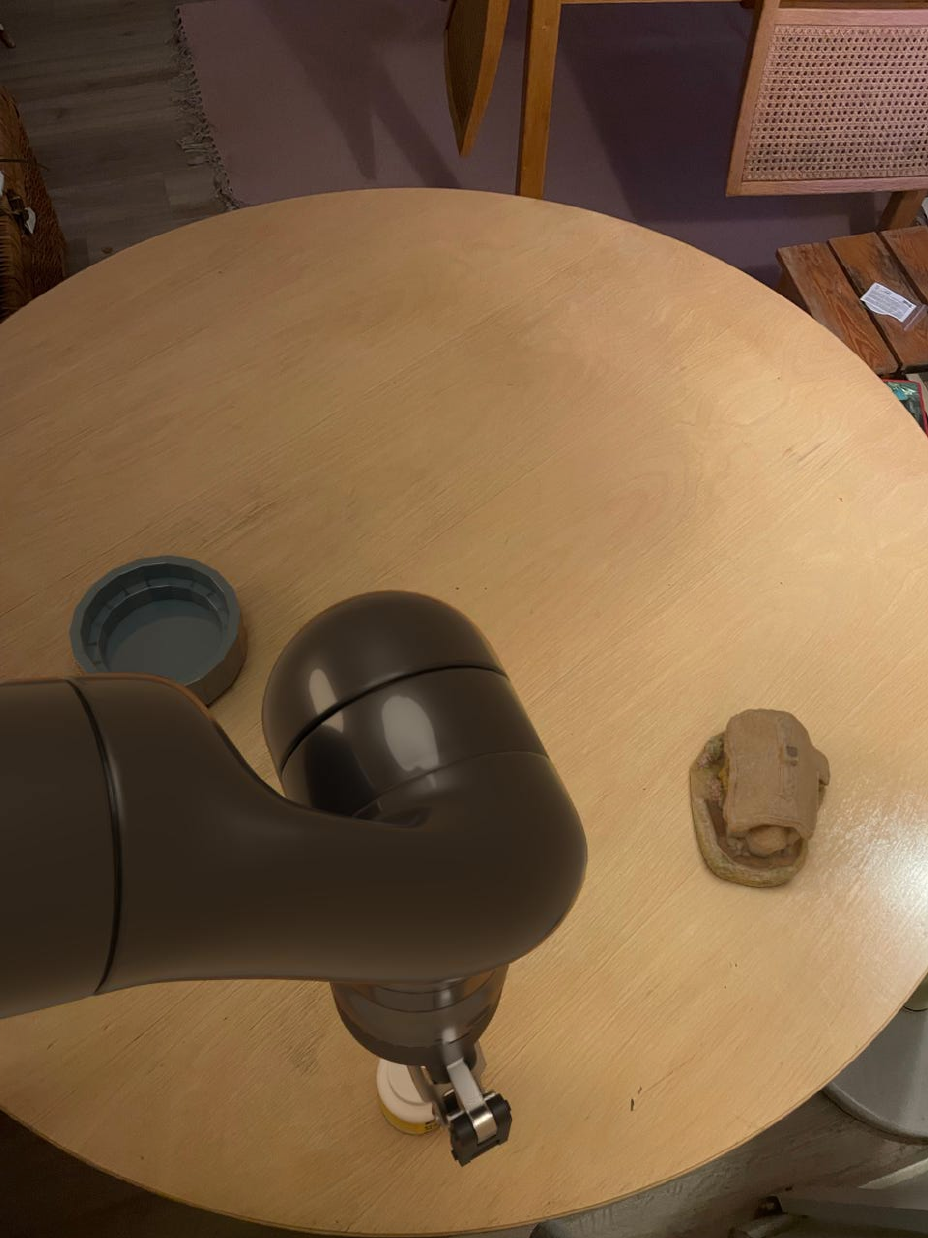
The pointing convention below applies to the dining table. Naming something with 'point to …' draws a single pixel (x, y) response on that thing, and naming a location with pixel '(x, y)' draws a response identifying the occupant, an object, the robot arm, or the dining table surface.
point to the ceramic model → (758, 797)
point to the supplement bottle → (403, 1100)
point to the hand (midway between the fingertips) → (417, 1033)
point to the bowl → (162, 624)
